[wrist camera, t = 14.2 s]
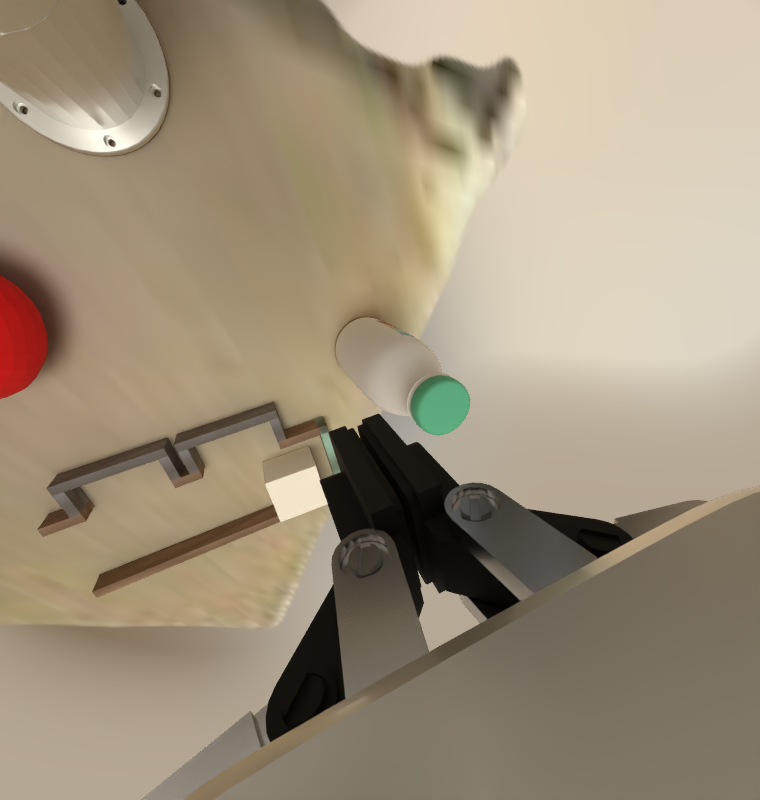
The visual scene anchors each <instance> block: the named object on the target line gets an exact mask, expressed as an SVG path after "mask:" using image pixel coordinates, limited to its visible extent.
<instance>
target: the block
mask: <svg viewBox="0 0 760 800" xmlns="http://www.w3.org/2000/svg"><path fill="white" fill-rule="evenodd" d="M263 470H264V479H265V485H266V487H267V490H268V492H269V495H270V497H271V500H272V502H273V505H274V507H275V510H276V512H277V515H278V517H279V520H280V522H282V521H285V520H288V519H290V518H293V517H295V516H298V515H301V514H303V513H306V512H308V511H311V510H313V509H316V508H319V507H321V506H324V505H326V504H328V503H327V501H326V498H325V495H324V492H323V489H322V487H321V484H320V481H319V480H320V478H319V474H318V471H317V468H316V465H315V462H314V459H313V457H312V454H311V451H310V448H309V446H308V447H305V448H302V449H299V450H296V451H293V452H290V453H287V454H284V455H281V456H278V457H275V458H272V459H269V460H267V461H264V462H263Z"/></svg>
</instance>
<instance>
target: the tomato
mask: <svg viewBox="0 0 760 800" xmlns="http://www.w3.org/2000/svg"><path fill="white" fill-rule="evenodd" d="M47 349H48V340H47V332H46V328H45V325H44V322H43V320H42V317H41V314H40V313H39V311H38V310H37V308H36V307H35V305H34V303H33V302H32V301H31V300H30V298H29V297H28V296H27V295H26V294H25V293H24V292H23V291H22V290H21V289H20V288H19V287H17V286H16V285H15V284H13V283H12V282H10V281H9V280H8V279H6V278H4V277H3V276H1V275H0V399H1V398H5V397H8V396H10V395H13V394H15V393H17V392H19V391H21V390H23V389H25V388H26V387H28V386H29V385H30V384H31V383H32V381H33V380H34V379H35V378H36V377H37V375H38V373H39V371H40V369H41V367H42V365H43V363H44V362H45V360H46V355H47Z"/></svg>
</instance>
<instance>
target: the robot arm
mask: <svg viewBox="0 0 760 800" xmlns="http://www.w3.org/2000/svg"><path fill="white" fill-rule="evenodd" d="M120 1H121V0H0V103H1V104H2V105H3V106H4V107H5V108H6V109H7V110H9V111H10V112H11V113H12V114H13V115H14V116H15V117H16V118H17V119H18V120H20V121H21V122H22V123H24V124H25V125H27V126H28V127H29V128H31V129H32V130H34V131H35V132H37V133H38V134H40V135H41V136H43V137H45V138H47V139H48V140H50V141H52V142H54V143H56V144H59V145H61V146H63V147H65V148H68V149H70V150H73V151H77V152H81V153H84V154H88V155H97V156H114V155H123V154H126V153H129V152H131V151H134V150H137V149H138V148H140V147H141V146H143V145H145V144H146V143H148V142H149V141H150V140H151V139H152V137H153V136H154V135H155V134H156V133H157V132H158V130H159V128H160V127H161V125H162V123H163V121H164V119H165V116H166V112H167V108H168V104H169V89H170V86H169V78H168V69H167V65H166V62H165V58H164V55H163V51H162V48H161V46H160V43H159V41H158V38H157V36H156V33H155V31H154V30H153V28H152V26H151V24H150V22H149V20H148V18H147V16H146V14H145V13H144V11H143V10H142V9H141V7H140V6H139V4H138V3H137V1H136V0H123V1H125V2H126V4H125V5H120ZM156 91H158V92H160V93H161V97H156V96H155V92H156ZM23 108H28V113H27V114H24V113H23ZM110 141H115V142H116V146H115V147H111V146H110ZM362 423H363V424H362V425H359V426H358V431H359V435H360V438H359V436H358V435H357V433H356V432H355V430H354V429H353V428H351V429H349V430H347V428H346V427H345V426H343V427H341V428H338V429H335V430H333V431H330V432H328V433H329V437H330V440H331V443H332V446H333V450H334V453H335V456H336V459H337V462H338V465H339V468H340V471H341V472H340V473H337V474H335V475H332V476H330V477H327V478H324V479H322V480H319V481H320V484H321V487H322V489H323V492H324V495H325V498H326V501H327V503H328V506H329V509H330V512H331V515H332V517H333V520H334V523H335V526H336V529H337V531H338V534H339V537H340V540H341V542H340V544H339V545H338V546H337V547H336V549H335V551H334V554H333V556H332V574H333V583H334V584H333V586H332V588H331V589H330V591H329V593H328V595H327V597H326V598H325V600H324V602H323V603H322V605H321V607H320V609H319V610H318V612H317V614H316V616H315V617H314V619H313V621H312V623H311V624H310V627H309V628H308V630H307V632H306V634H305V635H304V637H303V639H302V640H301V642H300V644H299V646H298V647H297V649H296V651H295V653H294V654H293V656H292V658H291V660H290V661H289V663H288V665H287V667H286V668H285V670H284V672H283V674H282V675H281V677H280V679H279V681H278V682H277V684H276V686H275V688H274V690H273V693H272V695H271V697H270V699H269V702H268V704H267V705H266V706H265V707H263V708H262V709H261V710H260V711H259V712H257V713H256V714H255V715H253V714H252V713H251V711H250V712H249V713H247V714H246V715H245V716H244V717H242V718H241V719H240V720H239V721H238V722H236V723H235V724H234V725H233V726H231V727H230V728H229V729H228V730H226V731H225V732H224V733H223V734H222V735H220V736H219V737H218V738H217V739H215V740H214V741H213V742H211V744H209V745H208V746H207V747H205V748H204V749H203V750H202V751H200V752H199V753H198V754H197V755H196V756H194V757H193V758H192V759H191V760H189V761H188V762H187V763H186V764H184V765H183V766H182V767H181V768H179V769H178V770H177V771H176V772H174V773H173V774H172V775H171V776H170V777H168V778H167V779H166V780H165V781H163V782H162V783H161V784H160V785H158V786H157V787H156V788H155V789H154V790H152V791H151V792H150V793H149V794H147V795H146V796H145V797H144V798H143V799H142V800H760V486H756V487H752V488H748V489H743V490H740V491H736V492H733V493H730V494H727V495H724V496H721V497H718V498H715V499H713V500H711V501H709V502H708V501H701V500H693V501H685V502H681V503H677V504H672V505H668V506H664V507H660V508H656V509H652V510H648V511H644V512H640V513H636V514H632V515H628V516H624V517H620V518H616V519H615V521H614V524H611V523H609V522H605V521H601V520H597V519H590V518H584V517H577V516H571V515H564V514H557V513H550V512H544V511H536V510H530V509H526V508H524V507H523V506H522V505H520V504H519V503H517V502H516V501H514V500H513V499H511V498H510V497H508V496H507V495H505V494H504V493H503V492H501V491H500V490H498V489H496V488H494V487H492V486H491V485H487V484H483V483H467V484H463V485H460V486H459V484H457V482H456V481H455V480H454V479H453V478H452V477H451V476H450V475H449V474H448V473H447V472H446V471H445V470H444V469H443V468H442V467H441V466H440V464H439V463H438V462H437V461H436V460H435V459H434V458H433V457H432V456H431V455H430V454H429V453H428V452H427V451H426V450H425V449H424V448H423V447H422V445H421V444H419V443H418V442H415V443H412V444H410V445H406V444H405V443H404V442H403V441H402V440H401V438H400V437H399V436H398V435H397V434H396V432H395V431H394V430H393V429H392V428H391V427H390V426H389V424H388V423H387V422H386V421H385V420H384V419H383V418H382V416H381V415H380V414H376V415H373V416H371V417H368V418H365V419H363V420H362ZM418 571H419V573H420V575H421V577H422V578H423V580H424V582H425V583H426V584H429V583H431V582H433V584H434V585H435V587H436V589H437V590H438V592H439V593H441V592H443V591H445V590H446V591H449V592H452V593H456V594H459V595H460V598H461V600H462V602H463V604H464V605H465V606H466V608H467V609H468V610H469V611H470V612H471V613H472V615H473V616H474V617H475V618H476V619H477V620H478V621H479V623H480V624H479V625H477V626H475V627H473V628H472V629H470V630H468V631H466V632H464V633H462V634H461V635H459V636H457V637H455V638H454V639H452V640H450V641H448V642H446V643H444V644H443V645H441V646H439V647H437V648H436V649H434V650H432V651H430V652H429V650H428V646H427V644H426V640H425V637H424V634H423V631H422V628H421V624H420V621H419V616H420V613H421V610H422V607H423V604H424V602H423V597H422V593H421V589H420V588H421V583H420V579H419V575H418Z"/></svg>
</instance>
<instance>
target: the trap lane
mask: <svg viewBox="0 0 760 800" xmlns="http://www.w3.org/2000/svg"><path fill="white" fill-rule="evenodd" d="M267 421H270V424H271V426H272V429H273V431H274V434H275V436H276V439H277V441H278V443H279V446H280V448H281V449H283V448H286V447H288V446H291V445H294V444H297V443H299V442H302V441H305V440H307V439H310V438H313V437H316V436H318V435H320V437H321V440H322V442H323V445H324V448H325V451H326V454H327V457H328V460H329V463H330V466H331V469H332V472H333V475H335V474H337V473H340V472H341V471H340V468H339V465H338V462H337V459H336V456H335V453H334V450H333V446H332V443H331V440H330V437H329V433H328V432H329V431H328V428H327V425H326V423H325V421H324V419H323V417H320V418H317V419H314V420H311V421H309V422H306V423H303V424H300V425H297V426H294V427H292V428H289V429H286V430H284V429H283V426H282V424H281V421H280V419H279V416H278V413H277V411H276V408H275V406H274V403H270V404H267V405H264V406H261V407H258V408H255V409H252V410H249V411H246V412H243V413H240V414H237V415H234V416H231V417H228V418H225V419H222V420H219V421H216V422H213V423H210V424H207V425H204V426H201V427H198V428H195V429H192V430H189V431H186V432H183V433H180V434H177V436H176V439H175V442H174V447H175V449H176V450H177V452H178V454H179V456H180V457H181V459H182V461H183V463H184V465H185V466H183V464H182V462H181V461H180V459H179V457H178V455H177V453H176V452H175V450H174V448H173V446H172V445H171V443H170V441H169V439H168V438H165V439H162V440H159V441H156V442H153V443H150V444H147V445H144V446H141V447H139V448H136V449H133V450H130V451H127V452H124V453H121V454H118V455H115V456H112V457H109V458H106V459H103V460H100V461H97V462H94V463H91V464H88V465H85V466H82V467H79V468H76V469H73V470H70V471H67V472H64V473H61V474H58V475H57V476H56V477H55V478H54V479H53V481H52V482H51V483H50V484H49V486H48V487H47V488H46V489H47V490H48V491H49V492H50V494H51V495H52V496H53V497H54V499H55V500H56V501H57V502H58V504H59V505H60V506H61V507H62V508H63V509H61V510H59V511H56V512H53V513H50V514H48V515H47V517H46V518H45V520H44V521H43V522H42V524H41V525H40V527H39V528H38V529H37V530H38V531H39V532H40V533H41V535H42V536H43V537H44V536H46V535H49V534H52V533H55V532H57V531H60V530H63V529H65V528H68V527H71V526H74V525H76V524H79V523H82V522H85V521H86V520H87V518H88V517H89V515H90V513H91V511H92V510H93V508H94V505H93V504H92V502H91V501H90V500H89V498H88V497H87V496H86V495H85V493H84V492H83V491H82V489H81V488H80V486H83V485H86V484H89V483H92V482H94V481H97V480H100V479H103V478H106V477H109V476H112V475H115V474H118V473H120V472H123V471H126V470H129V469H132V468H135V467H138V466H141V465H143V464H146V463H149V462H152V461H155V460H159V462H160V463H161V465H162V467H163V468H164V470H165V472H166V473H167V475H168V477H169V478H170V480H171V482H172V483H173V485H174V487H175V488H177V487H180V486H182V485H185V484H188V483H191V482H193V481H196V480H199V479H201V478H203V475H204V468H205V466H204V464H203V462H202V460H201V458H200V456H199V455H198V453H197V451H196V449H195V446H198V445H201V444H204V443H207V442H210V441H213V440H216V439H218V438H221V437H224V436H227V435H230V434H233V433H236V432H239V431H242V430H244V429H247V428H250V427H253V426H256V425H259V424H262V423H265V422H267ZM278 522H280V520H279V517H278V515H277V512H276V510H275V507H274V505H272V506H270V507H267V508H265V509H262V510H260V511H257V512H255V513H252V514H250V515H247V516H245V517H242V518H240V519H237V520H235V521H232V522H230V523H227V524H225V525H222V526H220V527H217V528H215V529H212V530H210V531H207V532H205V533H202V534H200V535H197V536H195V537H192V538H190V539H188V540H185V541H183V542H180V543H178V544H175V545H173V546H170V547H168V548H165V549H163V550H160V551H158V552H155V553H153V554H150V555H148V556H145V557H143V558H140V559H138V560H135V561H133V562H130V563H128V564H125V565H123V566H120V567H118V568H115V569H113V570H110V571H108V572H105V573H103V574H100V575H99V577H98V580H97V582H96V584H95V587H94V589H93V591H92V592H93V594H94V595H95V596H96V597H100V596H102V595H104V594H107V593H109V592H112V591H114V590H116V589H119V588H121V587H124V586H126V585H128V584H131V583H133V582H136V581H138V580H141V579H143V578H145V577H148V576H150V575H153V574H155V573H157V572H160V571H162V570H165V569H167V568H169V567H172V566H174V565H177V564H179V563H182V562H184V561H186V560H189V559H191V558H194V557H196V556H198V555H201V554H203V553H206V552H208V551H210V550H213V549H215V548H218V547H220V546H223V545H225V544H227V543H230V542H232V541H235V540H237V539H239V538H242V537H244V536H247V535H249V534H251V533H254V532H256V531H259V530H261V529H264V528H266V527H268V526H271V525H273V524H276V523H278Z"/></svg>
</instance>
